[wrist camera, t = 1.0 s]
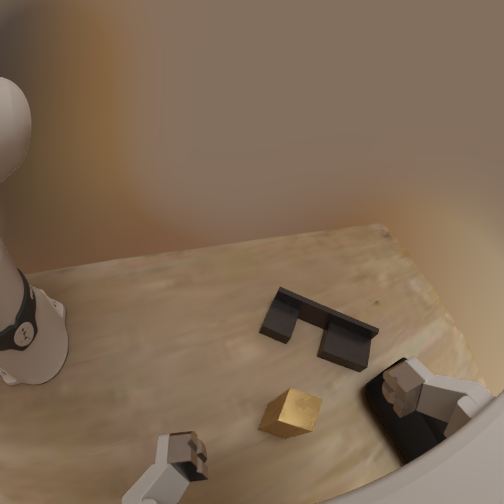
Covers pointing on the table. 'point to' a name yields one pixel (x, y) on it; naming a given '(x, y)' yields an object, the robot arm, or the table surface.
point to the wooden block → (291, 414)
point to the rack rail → (334, 324)
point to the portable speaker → (405, 422)
